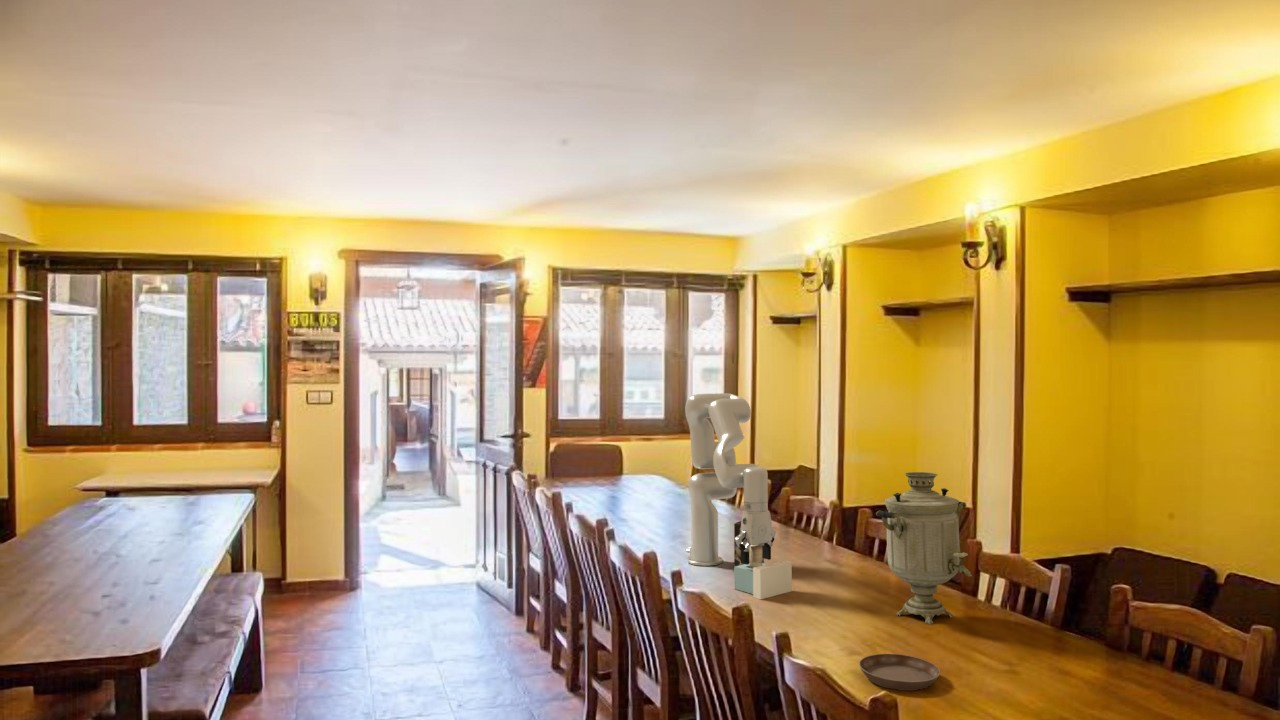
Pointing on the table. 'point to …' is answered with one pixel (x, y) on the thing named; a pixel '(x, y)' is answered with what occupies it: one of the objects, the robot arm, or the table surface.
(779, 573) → the block
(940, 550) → the samovar
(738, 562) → the coffee box
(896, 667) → the plant saucer
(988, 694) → the table surface
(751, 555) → the dowel
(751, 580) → the green square container
